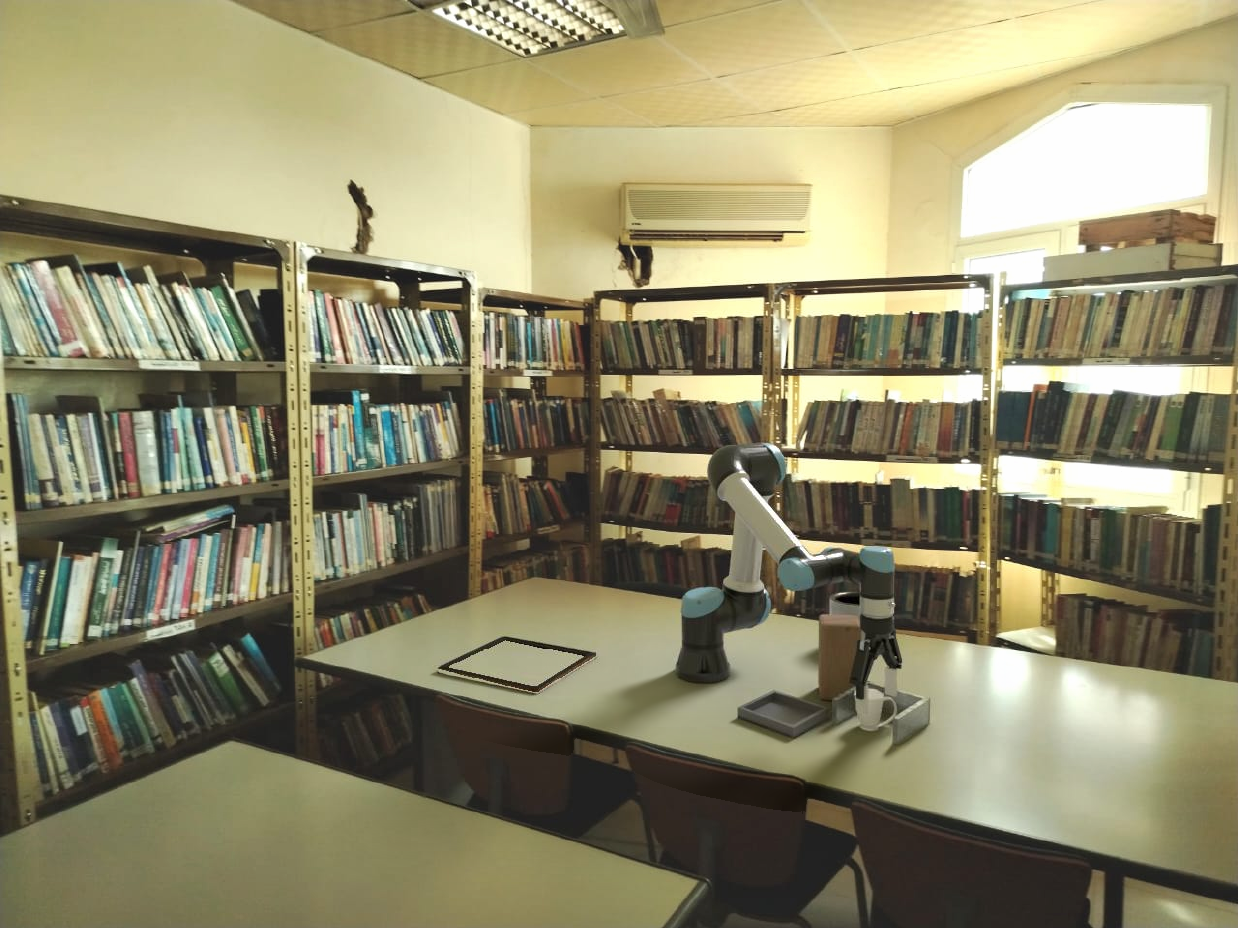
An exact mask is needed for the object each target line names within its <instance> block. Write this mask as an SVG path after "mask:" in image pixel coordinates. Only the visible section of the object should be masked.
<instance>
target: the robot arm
mask: <svg viewBox="0 0 1238 928" xmlns="http://www.w3.org/2000/svg"><path fill="white" fill-rule="evenodd" d="M706 469H707V470H706V474H707V480H708V482H709V486H710V488H711V489H712V490H713V493H714V494H715V495H716V496H717V497H718V498H719V500H721V501H723V502H724V501H725V502H727V504H729V506H730V507H731V508H732V510H733V511H734V512H735V514H734V515H735V516H734V523H733V533H732V534H733V535H732V544H731V545H732V546H731V555H730V556H731V557H730V564H729V565H730V566H729V575H727V576H726V577H725V578H724V579H723V581H722V589H720V588H719V587H714V586H706V587H702V586H701V587H697V588H693V589H691V590H688V591H686V592H685V593H684V595H683V596H682V598H681V605H680V606H681V607H680V614H681V647H680V650H679V654H678V657H677V661H676V664H675V675H676V676H677V677H678V678H679V679H681V680H683V681H687V682H691V683H697V684H698V683H699V684H710V683H711V684H712V683H718V682H722V681H725V680H726V679H728V678H729V677H730V676H731V665H730V663H729V662H730V661H728V658H727V654H726V650H725V647H724V643H725V641H724V635H725V634H728V633H732V632H738V631H741V630H746V629H753V628H755V627H758V626H761V624H763V623H765V622H766V621H767V619H768V617H769V615H770V612H771V607H772V603H771V599H770V597H769V596H770V595H769V592H768V591H767V589H766V588H765V584H764V582H763V581H762V580H761V579H760V578H761V569H762V560H763V550H764V549H765V550H766V551H767V553H768V554H769V555H770V556H771V557H772V559H773V560H774V561H775V562H776V564H777V565H778V567H777V577H778V578H779V583H780V585H781V587H783V588H784V589H785V590H787V591H791V592H796V591H798V592H799V591H807V590H810V589H813V588H818V587H823V586H829V585H834V584H839V583H848V584H852V585H856V586H859V592H860V612H861V615H860V629H861V630H862V631H863V632H864V633H865V640H864V641H863V640H858V641H857V651H856V655H855V659H854V663H853V668H852V672H851V676H850V683H852V684H855V685H856V711H858V712H861V713H865V714H867V713H868V685H866V682H867V681H869V680H868V679H869V676H870V674H871V672H872V668H873V665H874V663H875V661H876V660H878V657H879V656H880V655H881V657H882V659H883V661H884V663H885V664H886V666H885V667H884V685H885V694H887V695H890V696H894V697H896V696H897V689H898V670H901V669H902V666H903V665H902V663H903V658H902V654H901V651H900V647H899V644H898V640H897V630H896V629H895V616H894V615H893V614H894V613H895V607H896V603H895V592H894V591H895V589H894V588H895V572H896V571H895V570H896V566H895V556H894V555H895V553H894V552H893V549H891V548H889V547H885V546H878V545H867V546H864V547H863V546H862V547H861V548H860V551H859V552H858V551H854V550H853V551H852V550H848V549H844V548H841V547H832V546H831V547H826V548H824V549H823V550H822V551H821V552H820V553H815V554H811V553H810V552H809V550H808V549H807V548H806V547H805V546H804V545H803V544H802V542H801V541H800V540H799V539H798V537H797V536H795V534H794V532H792V530H791V529H790V528H789V527H788V526H787V525H786V524H785V522H784V521H783V520H782V519H781V518H780V517H779V515H778V514H777V513H776V512H775V510H774V509H772V507H771V506H770V505H769V499H771V498H772V497H773V496H774V495H775V493H776V492H775V491H776V485H779V484H780V483H782V482H783V480H784V479H785V477H786V474H787V463H786V458H785V456H784V455H783V454H782V451H781V450H780V449H779V448H778V447H777V446H776V445H774V444H772V443H768V442H753V443H743V444H729V445H728V444H727V445H723V446H722V447H720V448H719V449H717V450H716V451H715V452H714V453H712V455H711V457H710V458H709V461H708V464H707V468H706Z"/></svg>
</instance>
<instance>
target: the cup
mask: <svg viewBox="0 0 1238 928" xmlns="http://www.w3.org/2000/svg"><path fill="white" fill-rule="evenodd" d="M854 695H855V702H856V690H855V694H854ZM889 699H890V700H892V701H893V703H894V709H895V711H894V714H892V715H891V716H890V717H889V718H888V719H887V720H885V721H884V722H882V723H880V721H881V716H882V706H883V701H885V700H889ZM896 714H897V706H896V703H895V701H894V700H893V699H892V698H890V697H884V693H882V692H880V691H878V690H876V689H868V713H867V714H865V713H861V712H858V711H857V713H856V715H857V719H858V723H859V728H860V729H862V730H863V731H870V732H874V731H878V730H879V728H882V727H884V726H886V725H887V724H890V722H893V717H895V716H896ZM879 723H880V724H879Z"/></svg>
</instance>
